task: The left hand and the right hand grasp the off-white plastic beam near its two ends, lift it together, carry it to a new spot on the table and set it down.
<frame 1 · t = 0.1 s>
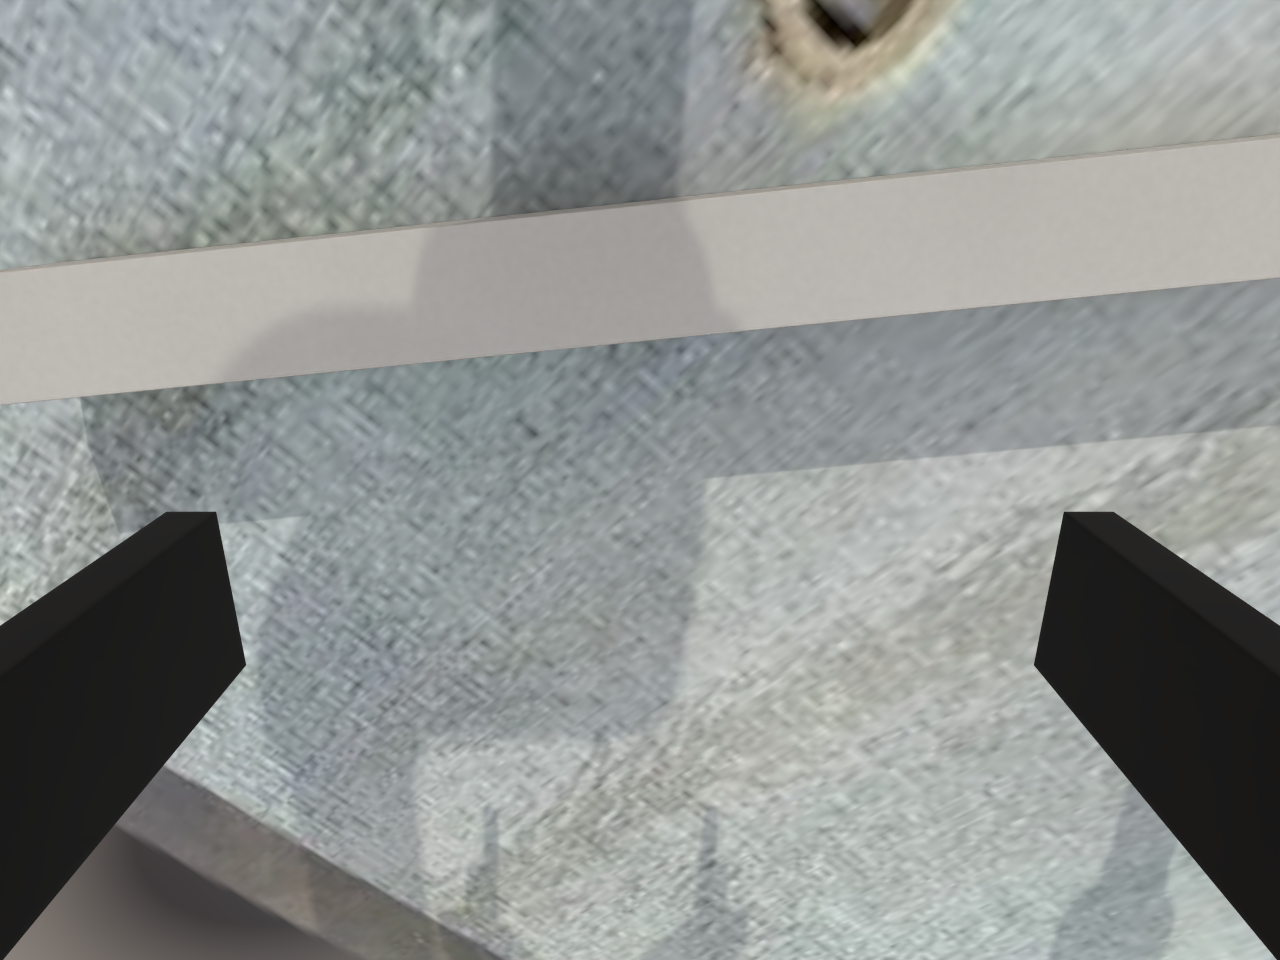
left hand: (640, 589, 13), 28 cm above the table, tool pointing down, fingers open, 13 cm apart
beam: (774, 243, 38), on the table
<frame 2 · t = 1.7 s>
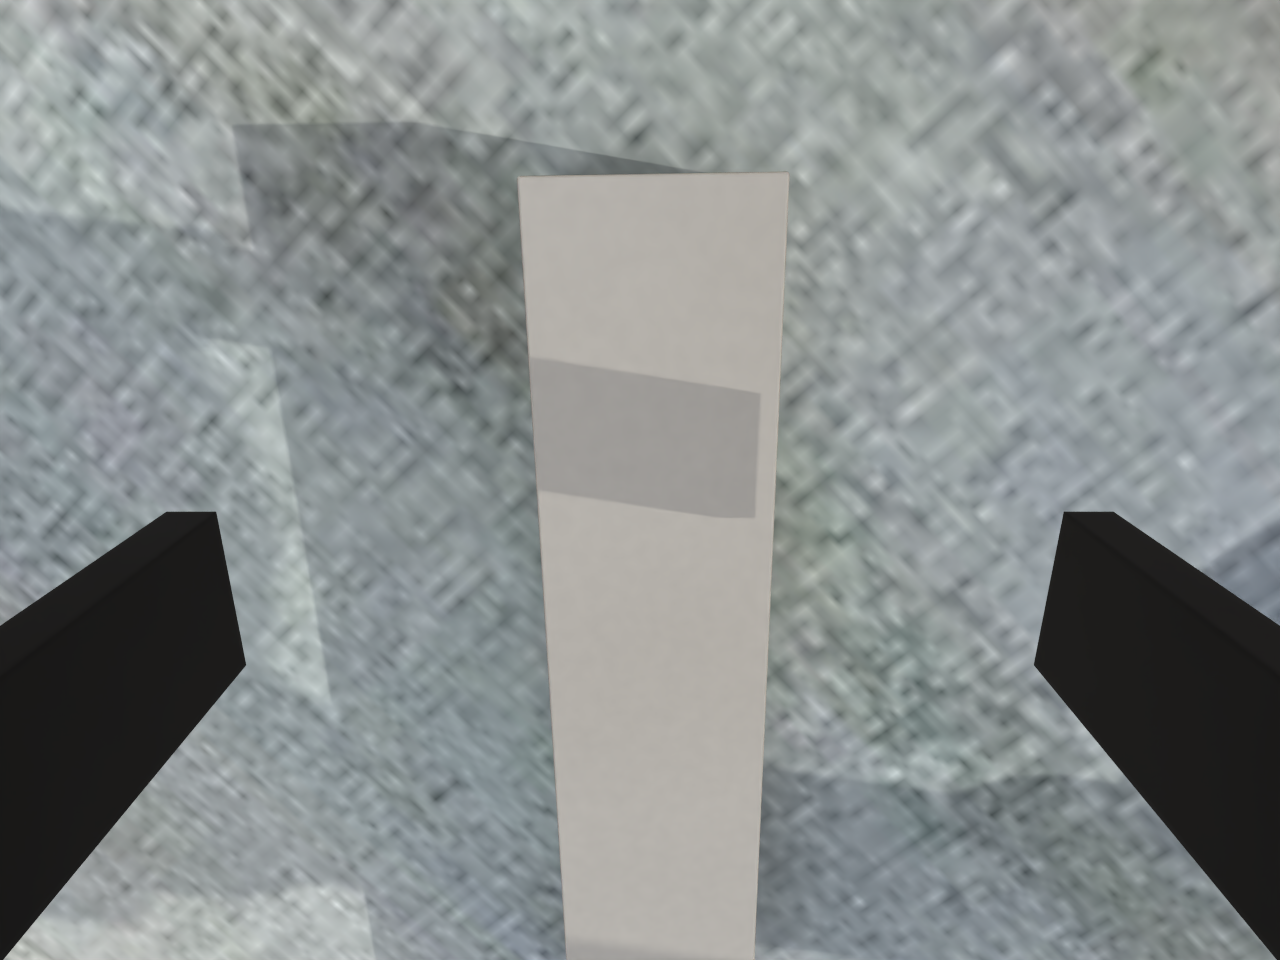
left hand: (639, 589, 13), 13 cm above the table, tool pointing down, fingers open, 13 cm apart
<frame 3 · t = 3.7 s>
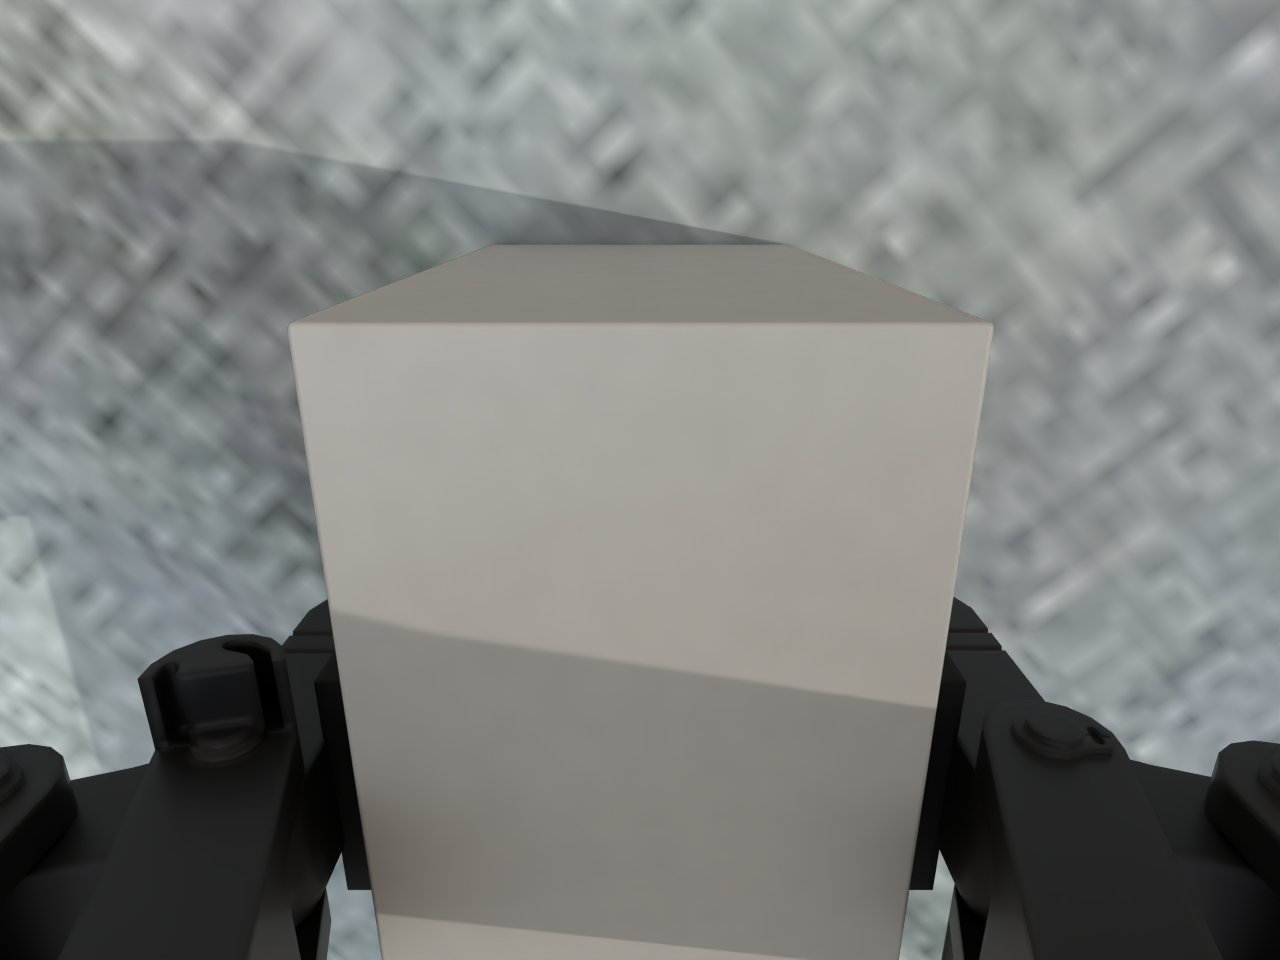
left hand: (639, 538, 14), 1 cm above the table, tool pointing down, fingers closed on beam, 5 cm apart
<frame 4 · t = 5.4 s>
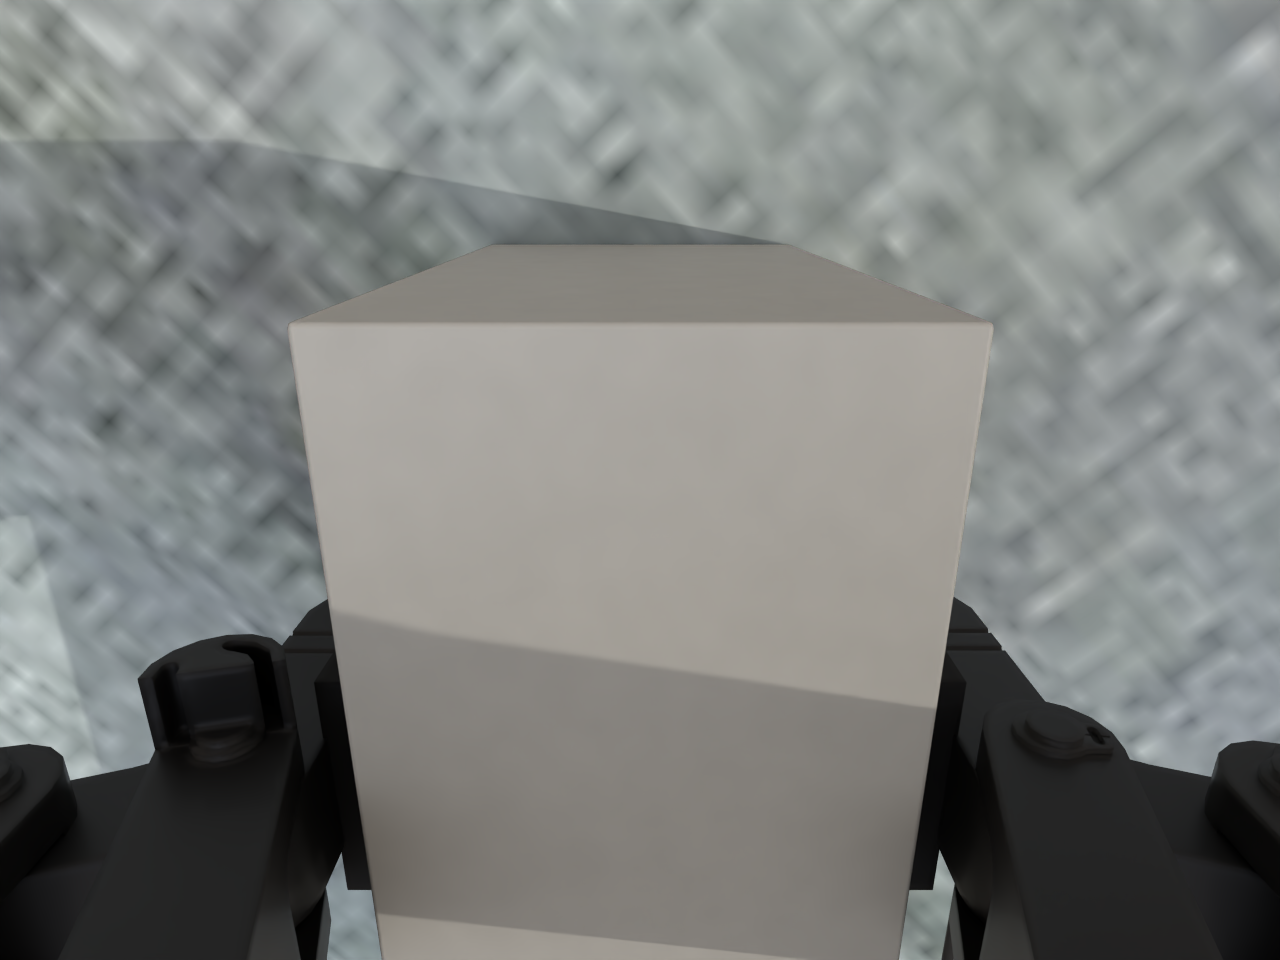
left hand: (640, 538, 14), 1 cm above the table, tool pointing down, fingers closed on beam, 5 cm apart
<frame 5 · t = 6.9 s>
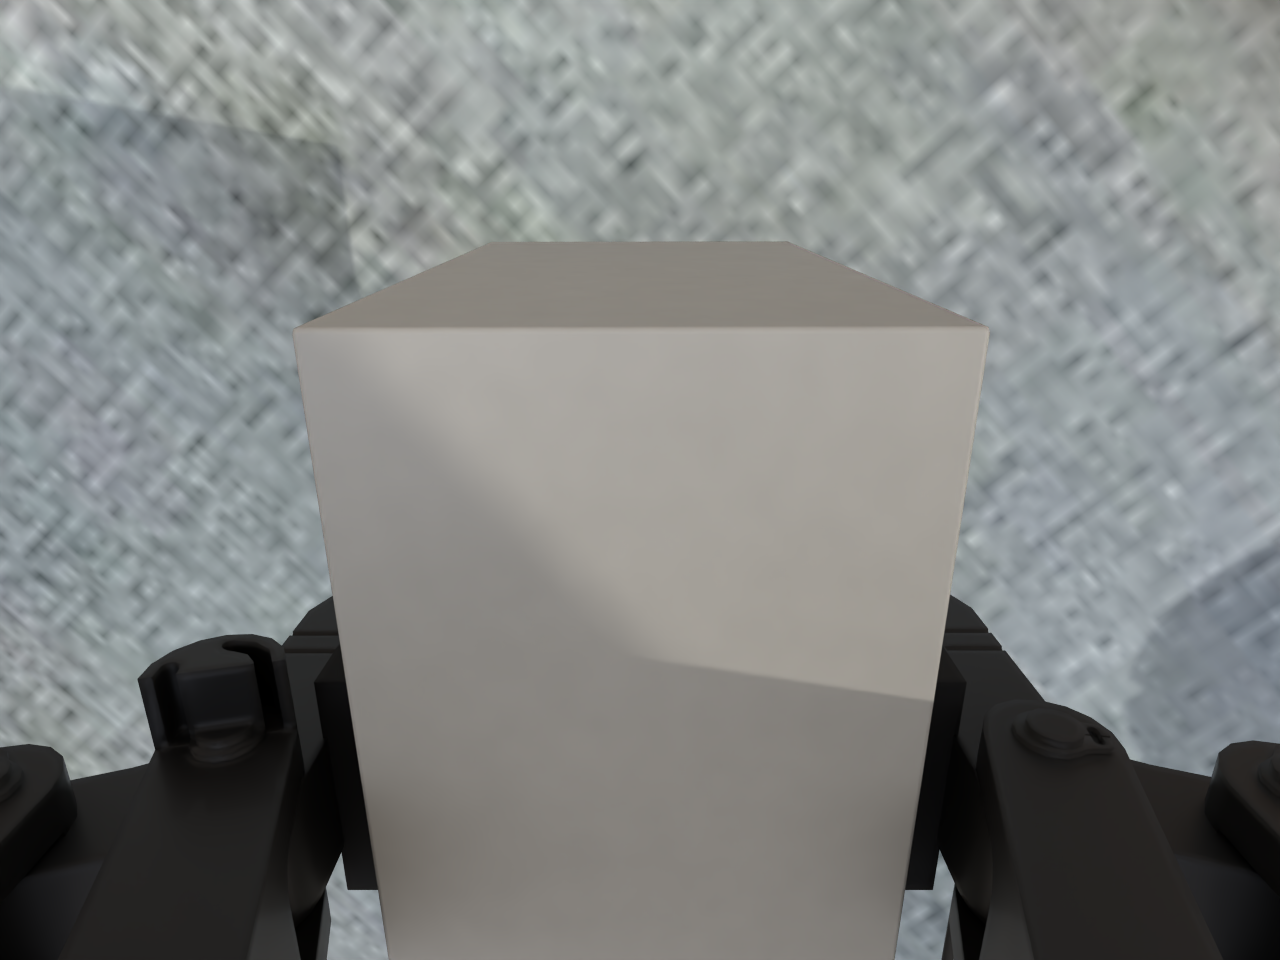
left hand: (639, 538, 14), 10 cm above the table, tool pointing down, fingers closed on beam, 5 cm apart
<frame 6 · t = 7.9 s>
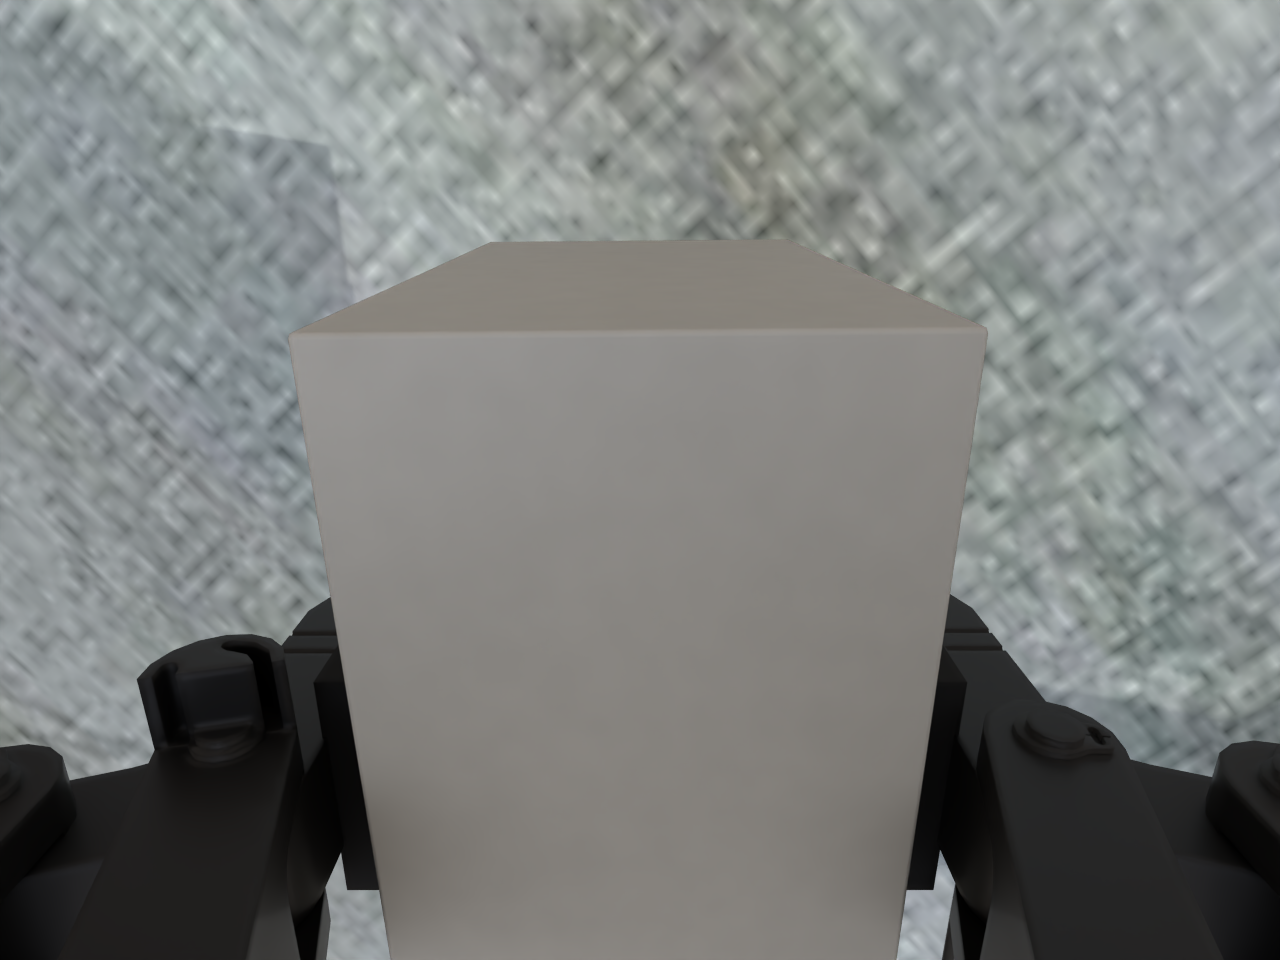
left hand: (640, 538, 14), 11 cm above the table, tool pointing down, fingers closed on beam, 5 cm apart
when the left hand's fingers open (2 cm above the table, at t = 10.4 s): beam stays where it is, on the table.
when the right hand's fingers open (4 cm above the table, at t = 10.6 s): beam stays where it is, on the table.
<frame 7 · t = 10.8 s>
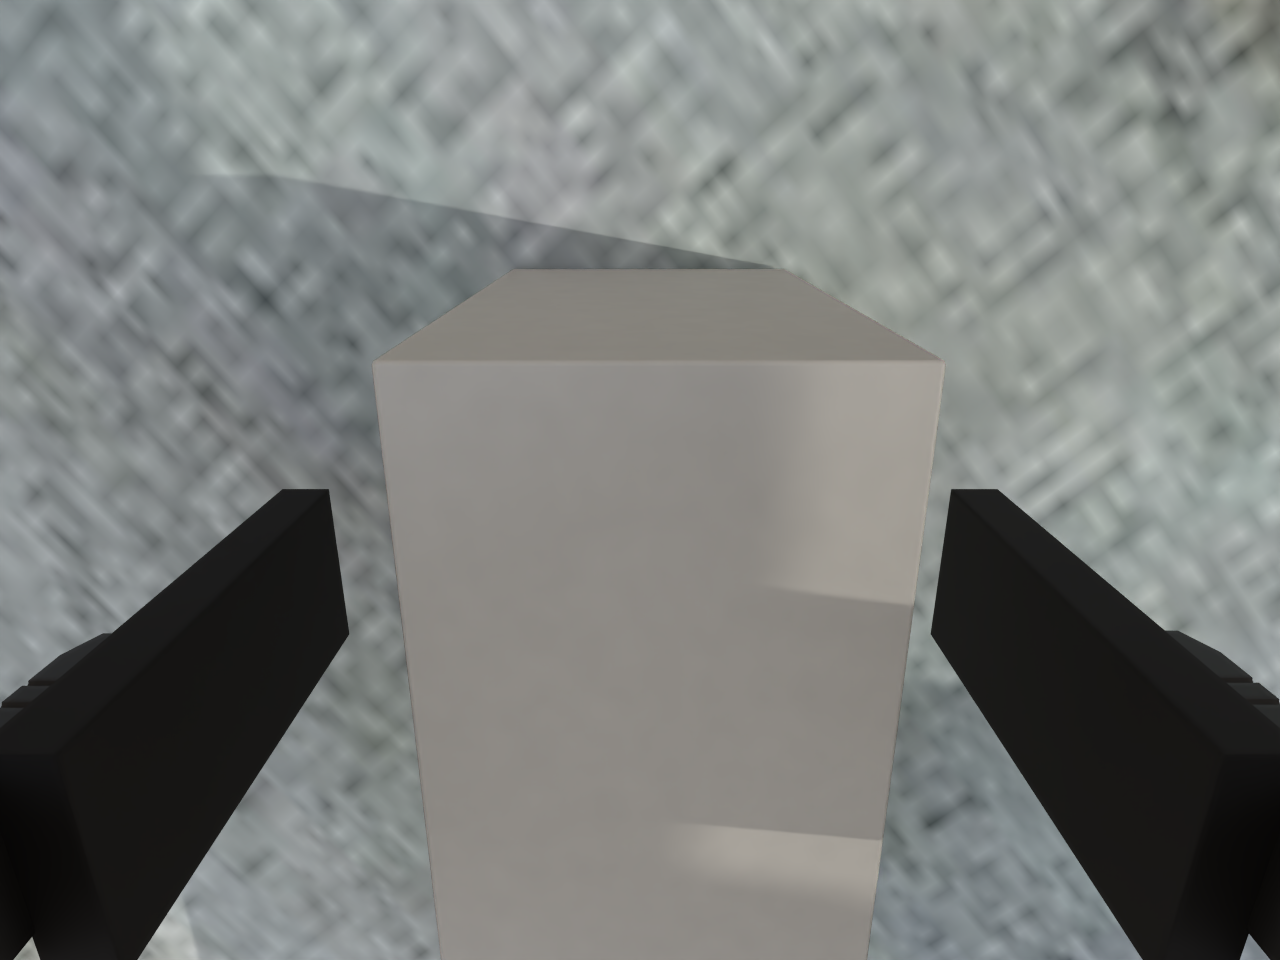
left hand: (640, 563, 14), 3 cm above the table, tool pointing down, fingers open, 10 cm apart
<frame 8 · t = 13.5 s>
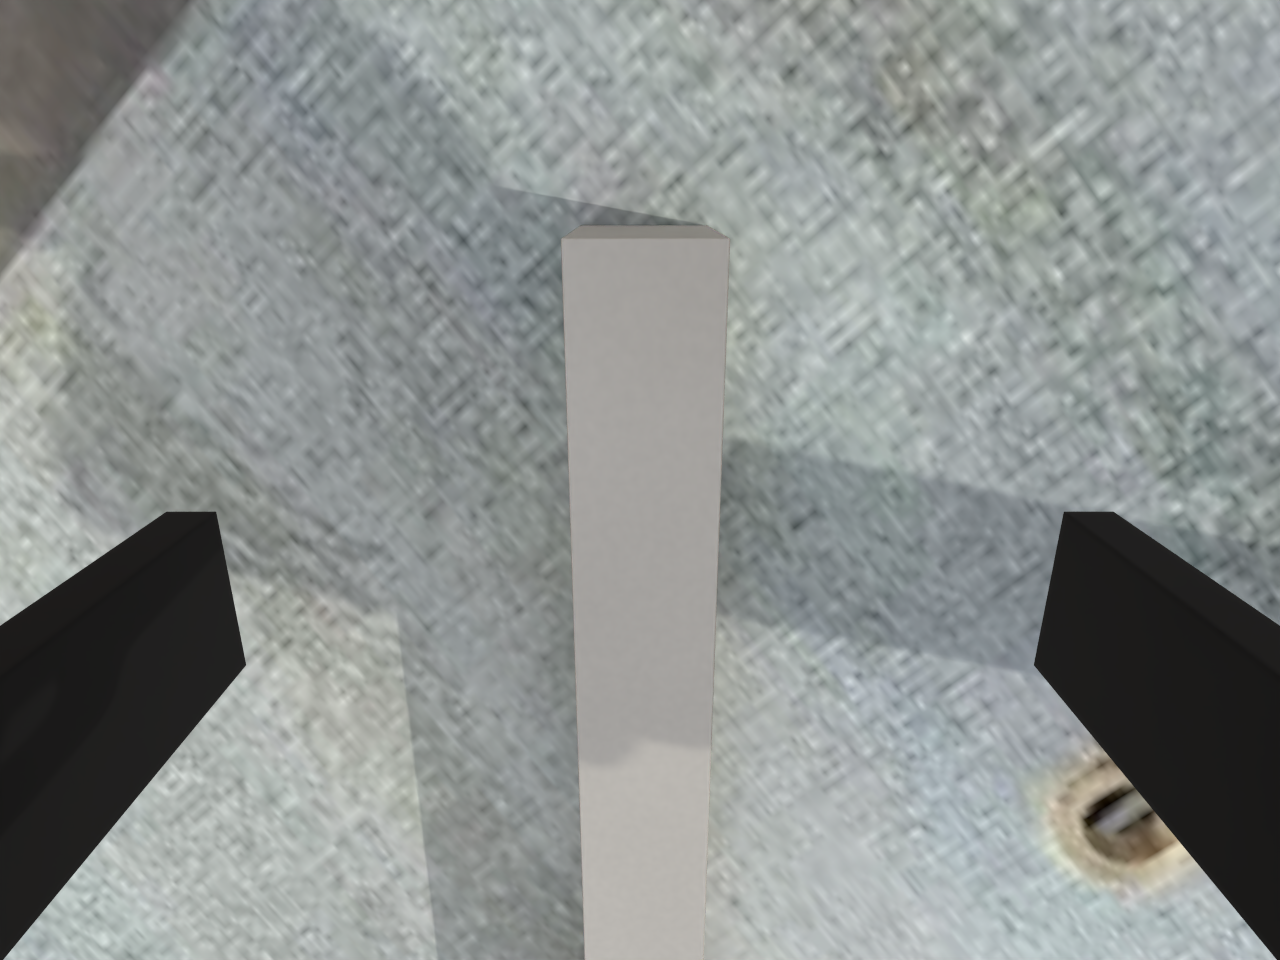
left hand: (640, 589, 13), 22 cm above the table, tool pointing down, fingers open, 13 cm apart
beam: (643, 888, 43), on the table
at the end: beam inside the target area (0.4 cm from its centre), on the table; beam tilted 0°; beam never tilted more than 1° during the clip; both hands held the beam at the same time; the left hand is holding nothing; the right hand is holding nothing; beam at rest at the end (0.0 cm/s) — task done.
